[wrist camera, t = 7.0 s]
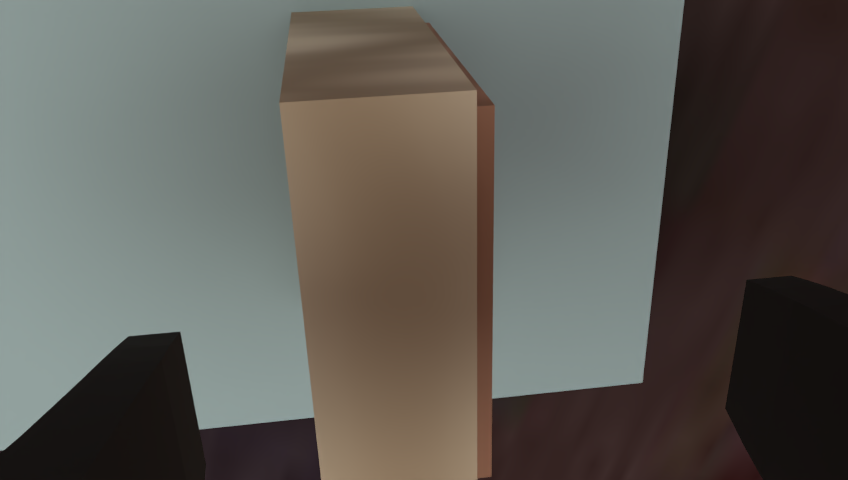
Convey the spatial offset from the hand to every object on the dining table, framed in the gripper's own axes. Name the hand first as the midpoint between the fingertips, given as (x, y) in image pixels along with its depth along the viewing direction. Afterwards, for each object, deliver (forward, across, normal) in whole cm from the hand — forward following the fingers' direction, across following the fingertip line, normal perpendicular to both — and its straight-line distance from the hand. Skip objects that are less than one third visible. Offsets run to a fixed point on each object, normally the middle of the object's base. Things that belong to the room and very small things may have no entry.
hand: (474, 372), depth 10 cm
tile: (+8, +1, 0) cm, 9 cm away
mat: (+9, +2, 0) cm, 10 cm away
